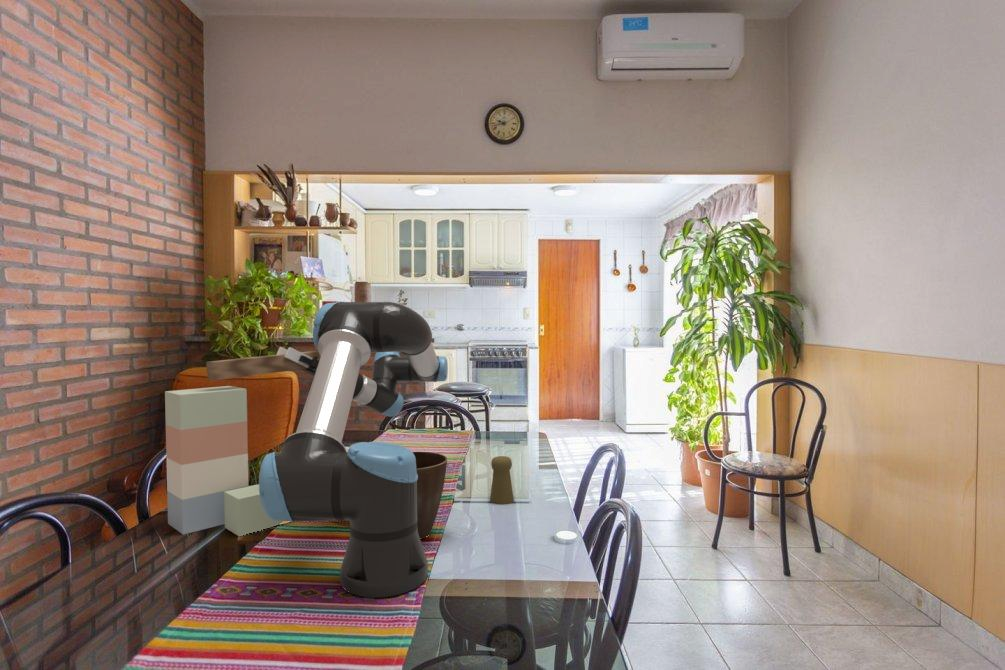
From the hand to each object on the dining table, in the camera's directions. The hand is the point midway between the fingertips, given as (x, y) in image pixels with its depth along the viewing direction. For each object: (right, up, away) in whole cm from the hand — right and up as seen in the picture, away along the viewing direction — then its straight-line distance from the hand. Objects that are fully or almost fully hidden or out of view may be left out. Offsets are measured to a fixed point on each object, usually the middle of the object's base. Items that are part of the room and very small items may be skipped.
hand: (283, 351), depth 140 cm
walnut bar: (-3, -5, -3) cm, 6 cm away
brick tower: (-13, -38, -11) cm, 42 cm away
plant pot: (+36, -38, -21) cm, 56 cm away
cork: (+55, -38, +2) cm, 66 cm away
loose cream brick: (0, -38, -14) cm, 41 cm away
